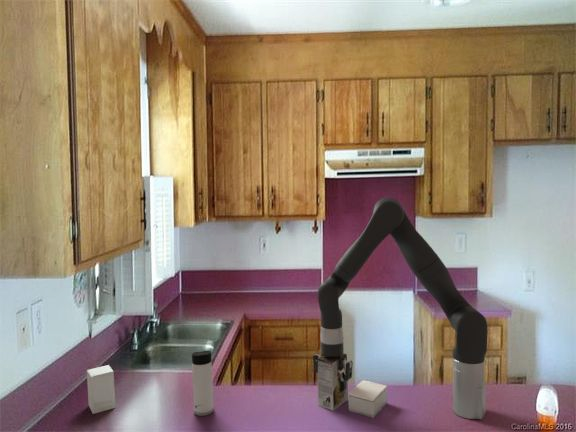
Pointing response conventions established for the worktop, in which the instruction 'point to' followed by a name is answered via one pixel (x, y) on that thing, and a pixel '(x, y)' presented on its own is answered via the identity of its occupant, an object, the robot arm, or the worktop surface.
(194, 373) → the travel mug
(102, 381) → the supplement box
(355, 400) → the white box
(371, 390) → the lid
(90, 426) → the worktop surface
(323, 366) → the coffee box
